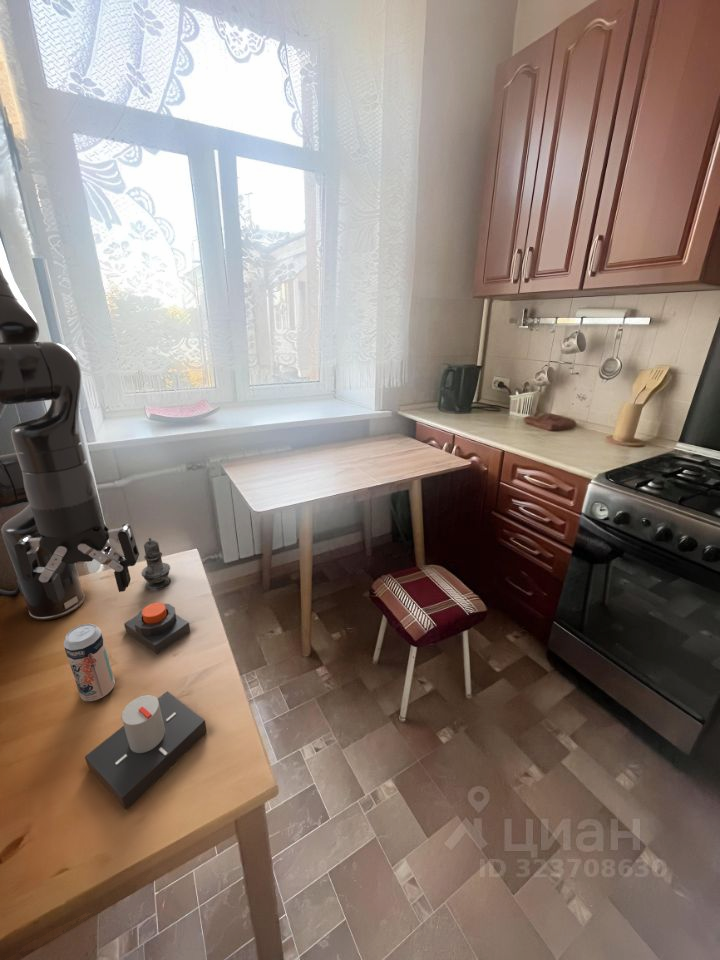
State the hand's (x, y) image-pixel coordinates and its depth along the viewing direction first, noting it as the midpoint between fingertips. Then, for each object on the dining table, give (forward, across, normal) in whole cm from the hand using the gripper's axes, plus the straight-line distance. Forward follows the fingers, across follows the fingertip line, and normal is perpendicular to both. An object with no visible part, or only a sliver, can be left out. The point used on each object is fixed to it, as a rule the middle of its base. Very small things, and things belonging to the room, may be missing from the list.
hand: (92, 593), depth 60 cm
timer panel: (+18, -8, +14) cm, 24 cm away
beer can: (+18, +2, +2) cm, 18 cm away
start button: (+14, -5, -10) cm, 18 cm away
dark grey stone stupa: (+17, -2, -27) cm, 32 cm away
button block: (+17, -5, -10) cm, 21 cm away
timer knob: (+15, -8, +14) cm, 22 cm away
